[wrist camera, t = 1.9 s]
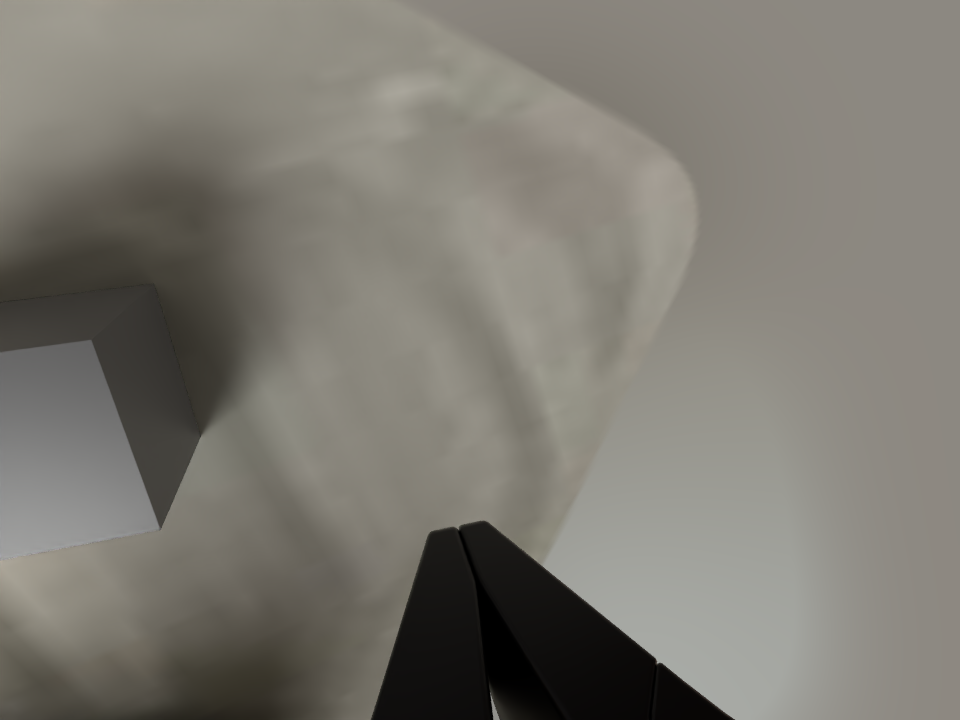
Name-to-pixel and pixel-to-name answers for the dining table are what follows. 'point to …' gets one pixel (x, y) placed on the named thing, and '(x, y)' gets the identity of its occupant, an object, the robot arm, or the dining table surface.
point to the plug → (88, 419)
